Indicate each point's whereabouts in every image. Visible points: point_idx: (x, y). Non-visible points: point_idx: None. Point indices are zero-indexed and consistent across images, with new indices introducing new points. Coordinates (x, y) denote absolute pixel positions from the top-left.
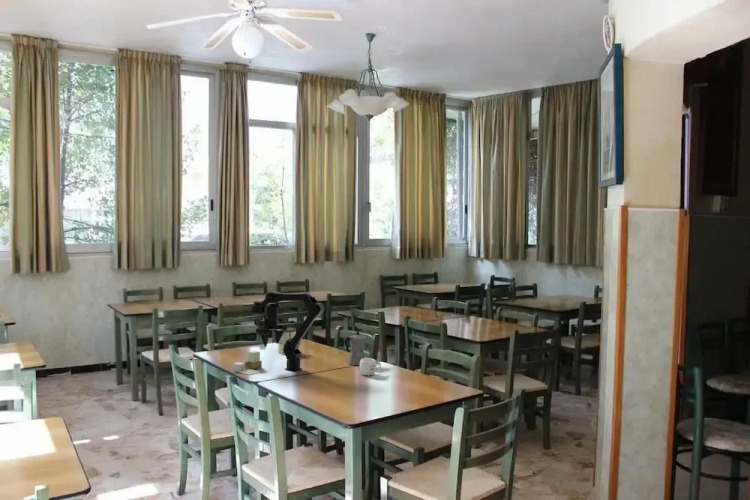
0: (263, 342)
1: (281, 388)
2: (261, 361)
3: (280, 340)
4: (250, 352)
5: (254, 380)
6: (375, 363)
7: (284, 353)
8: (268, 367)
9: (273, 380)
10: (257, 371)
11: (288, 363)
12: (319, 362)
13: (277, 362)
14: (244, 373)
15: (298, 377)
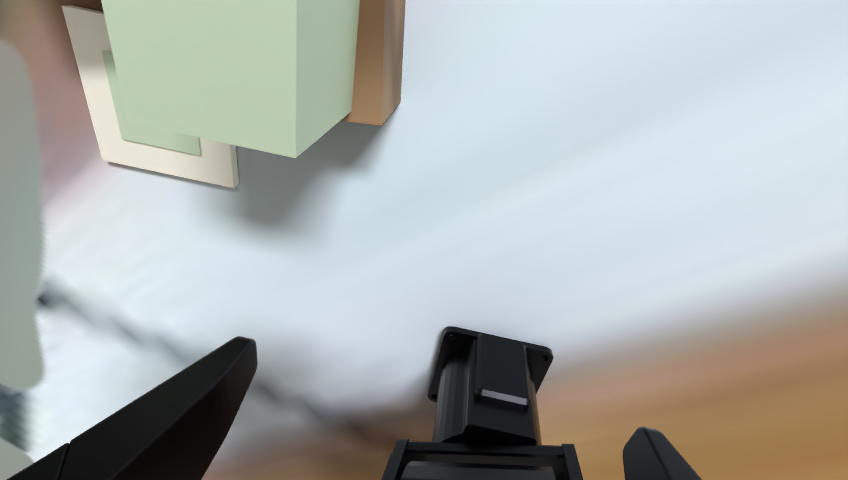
0: (152, 395)
1: None
2: (380, 122)
3: None
4: (106, 19)
5: (48, 268)
6: None
7: (407, 467)
8: (460, 160)
9: (154, 361)
10: (217, 173)
11: (448, 393)
12: (831, 450)
13: (765, 126)
14: (88, 85)
15: (313, 443)
